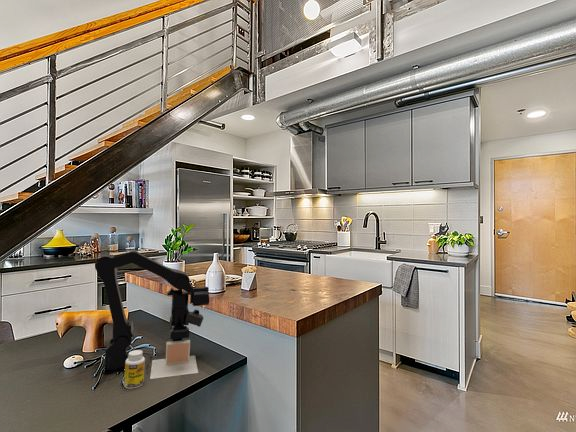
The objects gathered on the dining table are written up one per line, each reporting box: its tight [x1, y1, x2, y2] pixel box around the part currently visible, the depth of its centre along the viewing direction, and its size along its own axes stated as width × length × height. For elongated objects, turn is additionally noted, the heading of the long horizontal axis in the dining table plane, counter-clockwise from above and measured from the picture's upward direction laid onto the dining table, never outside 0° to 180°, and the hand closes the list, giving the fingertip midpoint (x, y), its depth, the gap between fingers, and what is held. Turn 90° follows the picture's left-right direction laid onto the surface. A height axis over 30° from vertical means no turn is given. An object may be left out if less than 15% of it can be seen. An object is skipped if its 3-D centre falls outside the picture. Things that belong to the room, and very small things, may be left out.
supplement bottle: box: [123, 349, 146, 390], centre depth 98 cm, size 6×6×10 cm
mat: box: [149, 355, 199, 380], centre depth 110 cm, size 15×14×1 cm
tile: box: [165, 339, 191, 364], centre depth 112 cm, size 8×2×8 cm, turn 111°
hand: (177, 349), depth 115 cm, fingers closed
